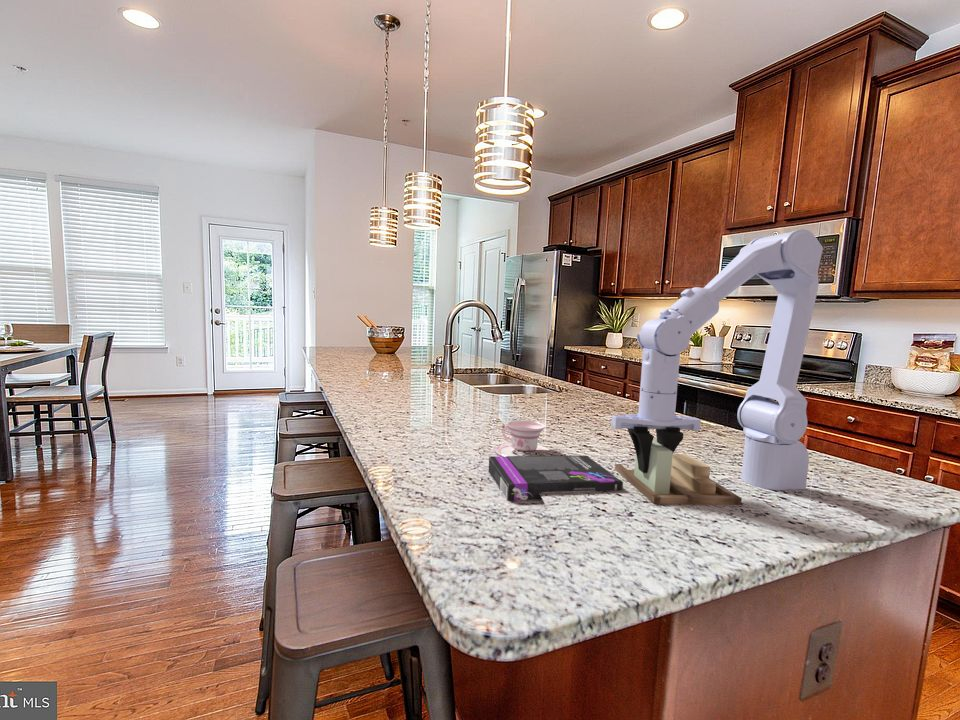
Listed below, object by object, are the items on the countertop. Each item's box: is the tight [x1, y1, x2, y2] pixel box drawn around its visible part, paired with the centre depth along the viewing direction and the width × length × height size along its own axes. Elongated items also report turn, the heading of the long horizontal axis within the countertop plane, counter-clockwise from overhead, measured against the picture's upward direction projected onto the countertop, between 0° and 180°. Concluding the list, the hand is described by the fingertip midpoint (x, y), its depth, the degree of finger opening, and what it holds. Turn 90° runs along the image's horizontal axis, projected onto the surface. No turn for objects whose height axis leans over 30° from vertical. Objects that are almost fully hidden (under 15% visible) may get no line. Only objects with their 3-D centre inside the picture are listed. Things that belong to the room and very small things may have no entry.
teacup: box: [494, 419, 550, 456], centre depth 99 cm, size 12×12×6 cm
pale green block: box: [633, 439, 674, 494], centre depth 80 cm, size 2×8×7 cm, turn 5°
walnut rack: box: [614, 463, 743, 506], centre depth 81 cm, size 14×16×2 cm
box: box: [488, 455, 624, 501], centre depth 82 cm, size 14×4×20 cm
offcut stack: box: [671, 453, 717, 496], centre depth 81 cm, size 3×10×4 cm, turn 5°
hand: (651, 471), depth 80 cm, fingers closed on pale green block, 2 cm apart
